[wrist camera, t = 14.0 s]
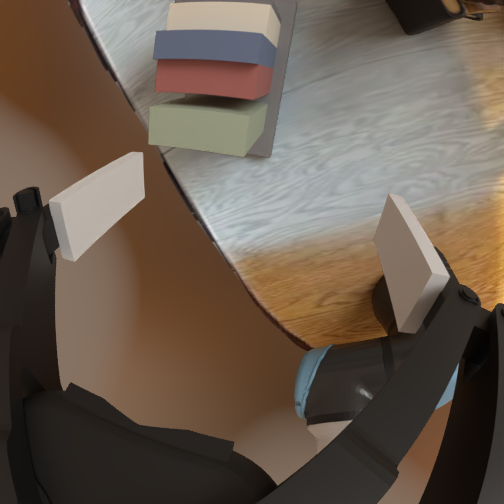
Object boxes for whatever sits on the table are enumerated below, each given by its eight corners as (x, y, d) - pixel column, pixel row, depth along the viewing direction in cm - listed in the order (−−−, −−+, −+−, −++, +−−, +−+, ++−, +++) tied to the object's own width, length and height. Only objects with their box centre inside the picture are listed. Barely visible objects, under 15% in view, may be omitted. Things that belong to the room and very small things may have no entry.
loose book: (263, 131, 37) (243, 157, 26) (193, 121, 37) (148, 144, 27) (267, 103, 34) (249, 116, 24) (195, 95, 35) (149, 106, 24)
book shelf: (271, 154, 40) (253, 193, 28) (185, 141, 41) (136, 173, 29) (297, 3, 26) (291, -33, 15) (202, -3, 27) (154, -31, 15)
